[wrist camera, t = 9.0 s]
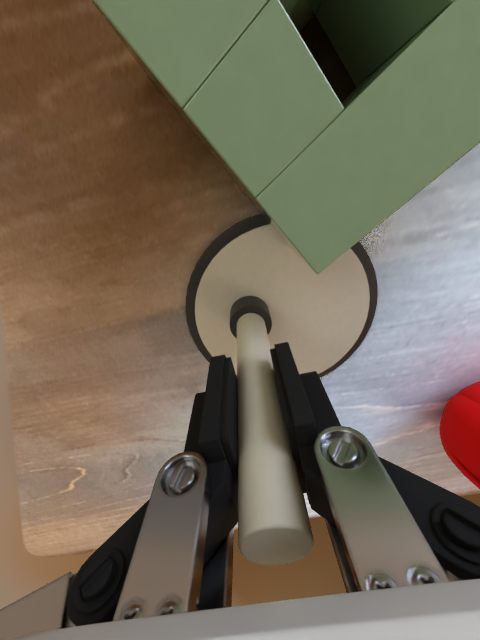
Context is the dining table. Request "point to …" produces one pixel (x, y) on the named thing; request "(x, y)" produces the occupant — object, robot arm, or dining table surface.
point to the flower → (463, 431)
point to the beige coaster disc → (281, 297)
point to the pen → (264, 449)
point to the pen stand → (316, 102)
